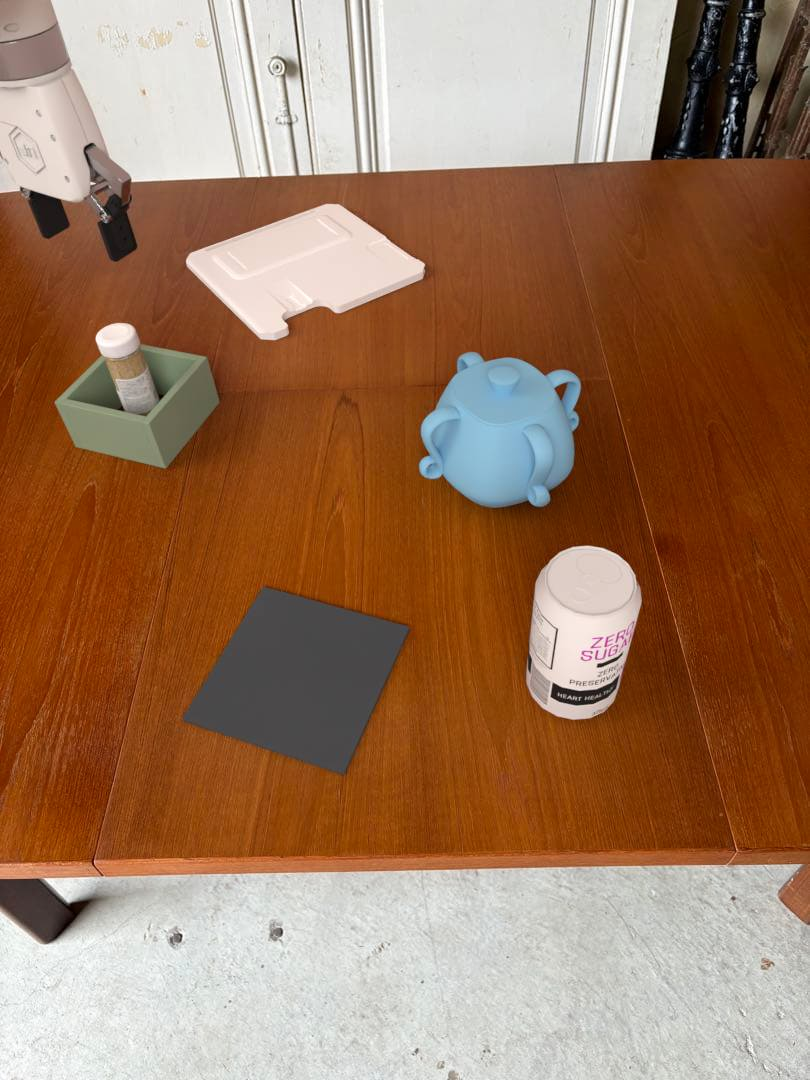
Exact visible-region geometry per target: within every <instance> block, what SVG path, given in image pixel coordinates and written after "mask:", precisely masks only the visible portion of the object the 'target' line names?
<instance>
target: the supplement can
mask: <svg viewBox="0 0 810 1080" xmlns="http://www.w3.org/2000/svg"><path fill="white" fill-rule="evenodd" d="M534 585H535V586H534V595H533V603H532V604H533V605H532V611H531V612H532V615H531V622H530V631H529V641H528V650H527V661H526V673H525V674H526V675H525V676H526V677H525V678H526V679H525V681H526V683H525V684H526V685H527V689H528V690H529V693H530V696H531V697H532V699H533V700H534V701H535V702H536V703H537V704H538V705H539V706H540V707H541V708H542V709H543V710H545V711H547V712H549V713H551V714H552V715H553V716H555V717H559V718H564V719H568V720H572V721H573V720H574V721H575V720H586V719H592V718H593V717H595V716H598V715H601V714H602V713H605V711H606V710H607V709H608V708H609V707H611V705H612V704H613V703H614V702H615V699H616V697H617V694H618V691H619V689H620V685H621V681H622V677H623V673H624V670H625V666H626V662H627V659H628V655H629V652H630V651H629V650H630V647H631V643H632V640H633V637H634V633H635V628H636V625H637V621H638V618H639V614H640V609H641V607H642V603H643V600H642V590H641V586H640V583H638V580H637V579H636V574H635V572H634V571H633V569H632V567H631V566H630V563H628V562H627V561H626V560H624V558H622V557H621V556H620V555H619V554H617V553H615V552H612V551H611V550H609V549H606V548H605V547H598V546H593V545H580V546H578V545H577V546H572V547H569V548H566V549H564V550H562V551H559V552H558V553H557V554H556V555H555V556H554V557H552V558H551V559H550V560H549V561H548V564H546V565H545V566H544V567H543V568H542V569H541V571H540V572H539V574H538V577H537V579H536V581H535V584H534Z"/></svg>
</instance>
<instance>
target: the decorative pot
mask: <svg viewBox="0 0 810 1080" xmlns="http://www.w3.org/2000/svg"><path fill="white" fill-rule="evenodd" d="M456 362H457V363H456V370H457V371H456V372H457V373H456V374H455V375H454V376H453V377H452V378H451V379H450V381H449V382H448V384H447V386H446V387H445V389H444V391H443V392H442V394H441V395H440V397H439V400H438V402H437V404H436V406H435V409H434V410H433V411H431V412H430V413H429V414H428V415H426V417H424V419H423V421H422V422H421V425H420V436H421V440H422V442H423V445H424V447H425V448H426V450H427V453H428V454H429V455H426V456H424V457H422V458H421V460H420V461H419V464H418V469H419V470H418V471H419V474H420V475H421V476H422V477H424V478H425V479H427V480H436V479H439V478H441V477H442V476H443V477H444V479H445V480H446V481H447V482H448V483H449V484H450V485H451V486H452V487H453V488H454V489H455V490H456V491H457V492H459V493H460V494H461V495H463V496H464V497H465V498H466V499H468V500H470V501H471V502H473V503H474V504H477V505H479V506H482V507H485V508H493V509H494V508H495V509H496V508H505V507H506V508H507V507H511V506H514V505H518V504H521V503H525V502H528V501H529V503H530V504H531V505H532V506H534V507H538V508H541V507H542V508H543V507H545V506H547V505H548V504H549V503H550V502H551V495H550V491H551V490H553V489H555V488H556V487H558V486H559V485H560V484H562V482H564V480H566V479H567V478H568V476H569V475H570V474H571V472H572V470H573V467H574V462H575V454H576V453H575V441H574V435H573V432H574V431H576V429H577V427H579V424H580V417H579V415H578V412H577V411H575V410H574V409H575V407H576V405H577V402H578V400H579V398H580V394H581V390H582V385H581V380H580V379H579V377H578V376H577V375H576V374H575V373H573V372H572V371H570V370H568V369H556V370H554V371H550V372H549V373H548V374H546V375H545V374H543V373H542V372H541V371H540V370H539V369H538V368H536V367H535V366H534V365H532V364H530V363H528V362H526V361H524V360H523V359H520V358H514V357H501V358H496V359H491V360H487V361H485V359H484V358H483V357H482V356H481V355H480V353H478V352H475V351H468V352H465V353H462V354H460V356H458V359H457V361H456ZM566 383H567V384H566ZM563 384H566V388H565V391H564V394H563V396H562V398H561V399H560V396H559V394H558V393H557V390H556V388H557V387H558V386H561V385H563Z"/></svg>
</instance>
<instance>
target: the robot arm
mask: <svg viewBox="0 0 810 1080" xmlns="http://www.w3.org/2000/svg"><path fill="white" fill-rule="evenodd" d="M72 65H73V63H72V61H71V58H70V54H69V51H68V47H67V45H66V42H65V38H64V36H63V33H62V30H61V26H60V23H59V21H58V18H57V15H56V11H55V8H54V5H53V2H52V0H0V158H1V159H2V161H3V162H4V165H5V167H6V169H7V173H8V174H9V176H10V178H11V180H12V181H13V182H14V183H15V184H16V185H18V186H19V192H20V194H21V195H22V196H23V198H25V199H26V200H27V203H28V205H29V208H30V210H31V212H32V215H33V217H34V220H35V222H36V225H37V227H38V230H39V232H40V235H41V236H42V238H44V239H47V240H50V239H51V238H53V237H55V236H57V235H58V234H60V233H63V232H64V231H66V230H67V229H69V228H70V227H71V223H70V220H69V218H68V215H67V212H66V210H65V208H64V205H63V202H62V201H65V202H68V203H71V204H72V203H73V204H80V203H81V202H83V201H85V202H86V203H87V205H89V207H90V208H91V209H92V211H93V212H94V213H95V214H96V215H97V216H98V218H99V219H100V220H98V221H97V222H96V224H97V227H98V230H99V233H100V235H101V239H102V241H103V245H104V247H105V251H106V252H107V256H108V258H109V260H110V261H112V262H115V263H118V262H119V261H120V260H122V259H124V258H126V257H127V256H129V255H130V254H132V253H134V252H135V251H136V250H137V249H138V243H137V240H136V236H135V234H134V230H133V228H132V225H131V221H130V218H129V215H128V212H129V211H131V207H130V204H131V202H132V200H133V196H132V180H133V179H132V176H131V175H130V173H128V171H126V170H125V169H124V168H122V166H121V165H119V164H118V163H116V162H115V161H114V160H113V159H112V158H111V157H110V154H109V151H108V149H107V146H106V143H105V140H104V137H103V134H102V132H101V129H100V127H99V124H98V120H97V118H96V116H95V114H94V111H93V108H92V106H91V105H90V102H89V99H88V96H87V94H86V92H85V90H84V89H83V86H82V84H81V82H80V80H79V78H78V76H77V74H76V72H75V69H73V68H72ZM91 183H93V184H92V185H91ZM103 192H104V194H106V196H107V197H108V199H107V201H106V203H105V204H104V203H103V201H102V200H101V199H100V198H99V197H98V195H99V194H101V193H103Z"/></svg>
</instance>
